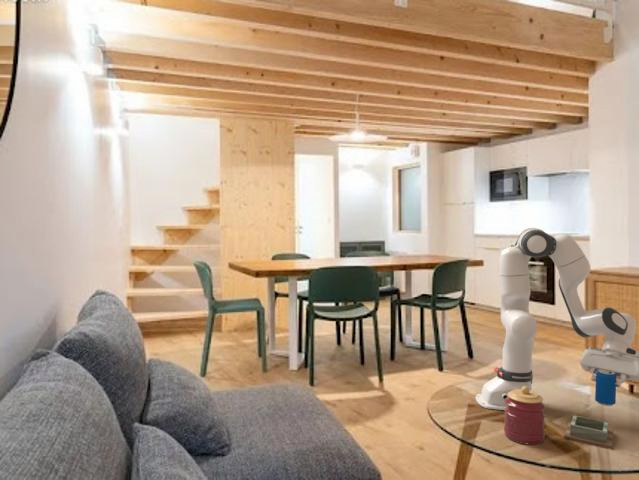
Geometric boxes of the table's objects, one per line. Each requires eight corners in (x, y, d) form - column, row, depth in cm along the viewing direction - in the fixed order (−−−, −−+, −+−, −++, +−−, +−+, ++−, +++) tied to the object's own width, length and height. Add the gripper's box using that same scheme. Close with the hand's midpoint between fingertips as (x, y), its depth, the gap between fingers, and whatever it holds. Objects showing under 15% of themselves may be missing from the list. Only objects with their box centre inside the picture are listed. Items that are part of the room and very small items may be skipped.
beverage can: (615, 408, 177) (616, 375, 176) (594, 404, 181) (595, 372, 180) (615, 402, 182) (616, 370, 182) (595, 398, 186) (596, 367, 185)
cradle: (611, 449, 162) (612, 435, 161) (564, 438, 169) (564, 425, 169) (613, 433, 173) (613, 421, 173) (568, 424, 181) (569, 412, 181)
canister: (507, 425, 179) (508, 377, 178) (546, 434, 172) (548, 384, 172) (500, 439, 168) (501, 388, 167) (541, 448, 161) (543, 395, 160)
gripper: (583, 341, 193) (573, 371, 187) (644, 353, 178) (635, 385, 172) (587, 351, 196) (577, 380, 190) (647, 362, 181) (638, 395, 175)
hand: (605, 383), depth 181 cm, fingers closed on beverage can, 6 cm apart
